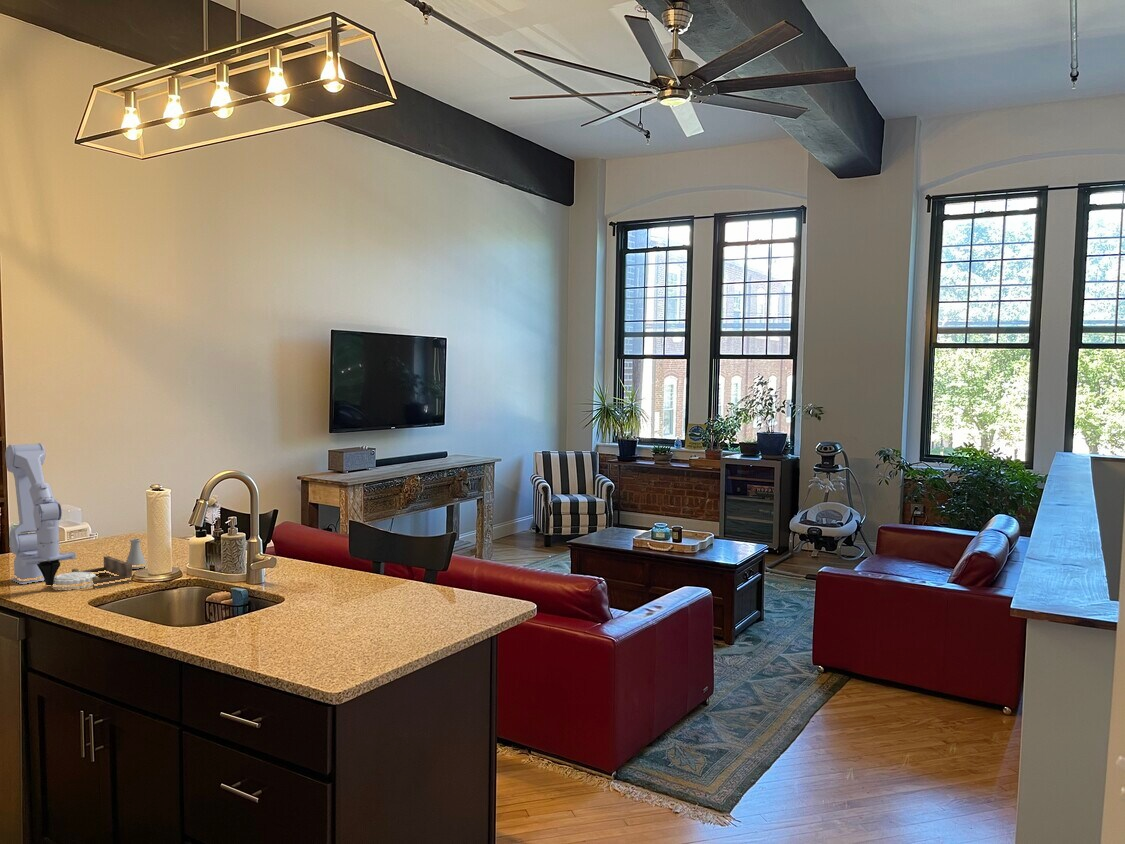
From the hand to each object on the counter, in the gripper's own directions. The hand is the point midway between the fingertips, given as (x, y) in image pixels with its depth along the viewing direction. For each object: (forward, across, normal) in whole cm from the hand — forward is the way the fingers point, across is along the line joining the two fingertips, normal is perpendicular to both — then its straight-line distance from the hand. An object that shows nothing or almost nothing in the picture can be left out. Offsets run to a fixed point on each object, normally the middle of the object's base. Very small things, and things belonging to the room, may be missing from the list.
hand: (49, 585), depth 254 cm
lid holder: (+1, +15, 0) cm, 15 cm away
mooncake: (+2, +7, 0) cm, 7 cm away
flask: (+2, +30, +11) cm, 32 cm away
